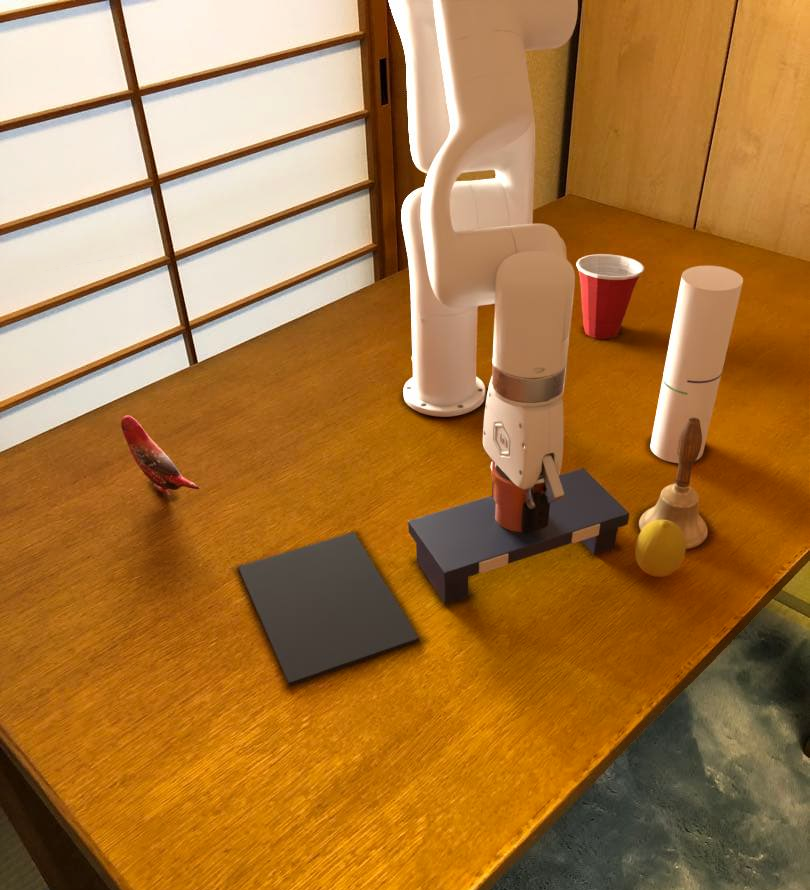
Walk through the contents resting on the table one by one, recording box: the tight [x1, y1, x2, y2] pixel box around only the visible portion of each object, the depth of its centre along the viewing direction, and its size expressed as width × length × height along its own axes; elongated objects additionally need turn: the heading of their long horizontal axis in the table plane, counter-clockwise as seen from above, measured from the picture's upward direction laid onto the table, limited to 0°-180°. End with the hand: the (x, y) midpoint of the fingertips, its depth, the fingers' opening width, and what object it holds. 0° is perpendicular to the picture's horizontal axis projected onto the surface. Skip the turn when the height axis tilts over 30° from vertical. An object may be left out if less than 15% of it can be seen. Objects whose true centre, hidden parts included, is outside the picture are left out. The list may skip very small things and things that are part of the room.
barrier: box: [407, 467, 630, 605], centre depth 104 cm, size 10×24×6 cm, turn 114°
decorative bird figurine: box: [120, 415, 201, 498], centre depth 114 cm, size 3×18×10 cm, turn 44°
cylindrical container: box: [649, 265, 744, 464], centre depth 114 cm, size 7×7×25 cm
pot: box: [490, 461, 544, 532], centre depth 100 cm, size 7×7×7 cm
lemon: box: [634, 520, 687, 578], centre depth 101 cm, size 6×6×8 cm
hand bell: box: [638, 418, 709, 550], centre depth 104 cm, size 8×8×16 cm
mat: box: [237, 531, 420, 687], centre depth 101 cm, size 20×15×1 cm
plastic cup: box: [575, 253, 645, 340], centre depth 145 cm, size 11×11×12 cm
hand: (519, 510), depth 102 cm, fingers closed on pot, 6 cm apart
